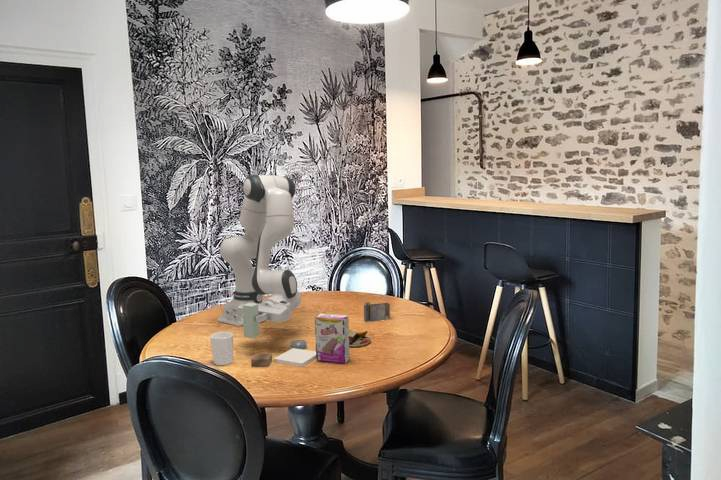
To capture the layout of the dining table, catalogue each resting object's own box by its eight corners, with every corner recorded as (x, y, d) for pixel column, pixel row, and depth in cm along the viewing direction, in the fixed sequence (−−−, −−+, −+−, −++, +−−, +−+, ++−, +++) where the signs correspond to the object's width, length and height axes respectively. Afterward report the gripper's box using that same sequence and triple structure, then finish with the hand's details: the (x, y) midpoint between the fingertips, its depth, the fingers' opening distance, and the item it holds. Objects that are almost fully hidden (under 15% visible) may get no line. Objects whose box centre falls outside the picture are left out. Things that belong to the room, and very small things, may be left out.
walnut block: (251, 367, 184) (250, 359, 183) (255, 361, 190) (255, 353, 189) (268, 367, 183) (268, 359, 183) (272, 361, 189) (272, 353, 189)
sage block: (243, 336, 194) (242, 305, 192) (250, 333, 198) (249, 302, 196) (252, 338, 192) (251, 306, 190) (259, 335, 196) (258, 303, 194)
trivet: (274, 361, 188) (273, 358, 188) (292, 351, 199) (292, 347, 198) (302, 366, 183) (302, 363, 182) (320, 355, 193) (320, 352, 193)
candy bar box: (315, 361, 187) (313, 316, 185) (321, 356, 192) (319, 312, 189) (345, 364, 183) (343, 318, 181) (350, 359, 188) (348, 315, 186)
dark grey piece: (365, 323, 232) (365, 301, 231) (364, 321, 235) (363, 300, 234) (390, 321, 235) (390, 299, 233) (388, 319, 238) (388, 298, 236)
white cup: (214, 358, 193) (212, 332, 191) (236, 357, 193) (234, 331, 192) (210, 366, 185) (208, 339, 184) (233, 365, 186) (231, 338, 184)
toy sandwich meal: (362, 350, 198) (362, 337, 197) (330, 346, 204) (330, 334, 203) (375, 339, 209) (375, 328, 209) (344, 336, 215) (344, 325, 214)
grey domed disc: (287, 349, 201) (287, 343, 200) (296, 344, 206) (296, 338, 206) (301, 351, 198) (300, 345, 198) (309, 346, 203) (309, 340, 203)
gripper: (250, 297, 209) (226, 306, 197) (293, 303, 200) (271, 313, 188) (250, 312, 210) (227, 322, 198) (293, 319, 201) (272, 330, 189)
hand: (249, 318), depth 193 cm, fingers closed on sage block, 4 cm apart
